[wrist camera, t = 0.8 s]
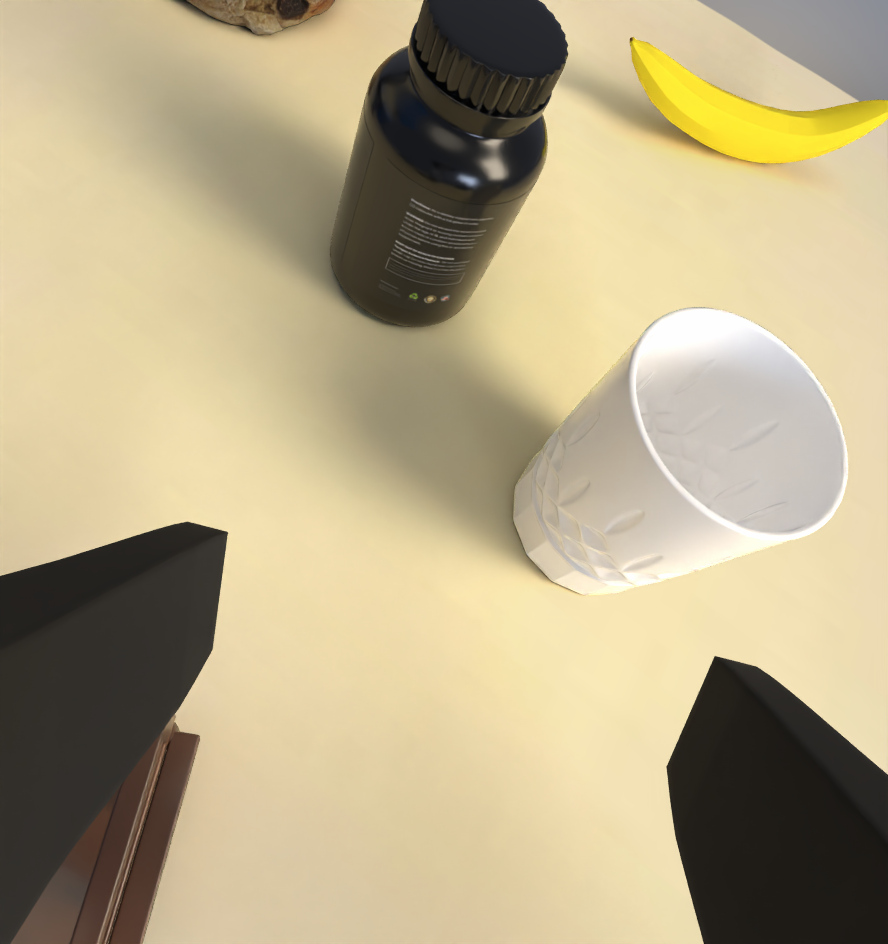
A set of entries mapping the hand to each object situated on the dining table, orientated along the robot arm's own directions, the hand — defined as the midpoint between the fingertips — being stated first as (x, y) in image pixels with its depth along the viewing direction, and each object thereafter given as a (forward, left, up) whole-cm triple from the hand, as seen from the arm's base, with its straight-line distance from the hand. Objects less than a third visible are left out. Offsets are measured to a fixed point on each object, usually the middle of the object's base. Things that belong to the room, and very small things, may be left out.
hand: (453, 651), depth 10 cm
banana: (+38, -18, -15) cm, 44 cm away
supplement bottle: (+20, 0, -15) cm, 25 cm away
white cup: (+10, -10, -15) cm, 20 cm away
